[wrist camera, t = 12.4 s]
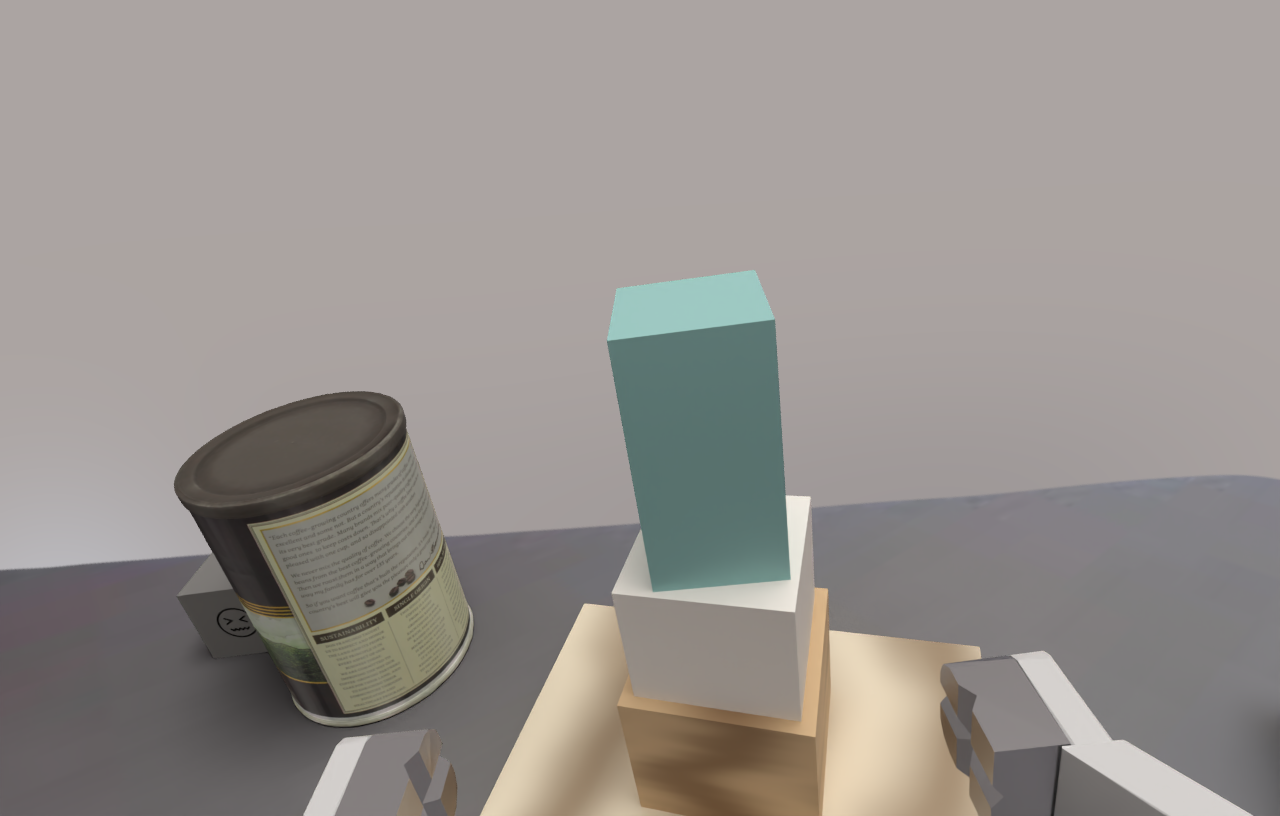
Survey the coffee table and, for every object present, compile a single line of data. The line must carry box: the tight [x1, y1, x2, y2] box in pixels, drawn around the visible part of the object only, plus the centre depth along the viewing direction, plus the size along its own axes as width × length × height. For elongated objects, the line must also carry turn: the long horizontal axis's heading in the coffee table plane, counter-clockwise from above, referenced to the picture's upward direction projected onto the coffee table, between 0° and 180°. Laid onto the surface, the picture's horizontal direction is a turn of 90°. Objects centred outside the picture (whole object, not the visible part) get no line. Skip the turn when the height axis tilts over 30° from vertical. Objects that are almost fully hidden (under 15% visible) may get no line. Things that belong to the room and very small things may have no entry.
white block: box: [611, 496, 815, 722], centre depth 26 cm, size 6×6×5 cm
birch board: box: [480, 604, 981, 816], centre depth 30 cm, size 20×14×1 cm
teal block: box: [607, 270, 791, 592], centre depth 22 cm, size 4×4×9 cm
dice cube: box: [177, 552, 268, 659], centre depth 42 cm, size 5×5×5 cm
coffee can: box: [174, 391, 474, 727], centre depth 36 cm, size 10×10×14 cm
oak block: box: [617, 588, 831, 816], centre depth 28 cm, size 7×7×6 cm
